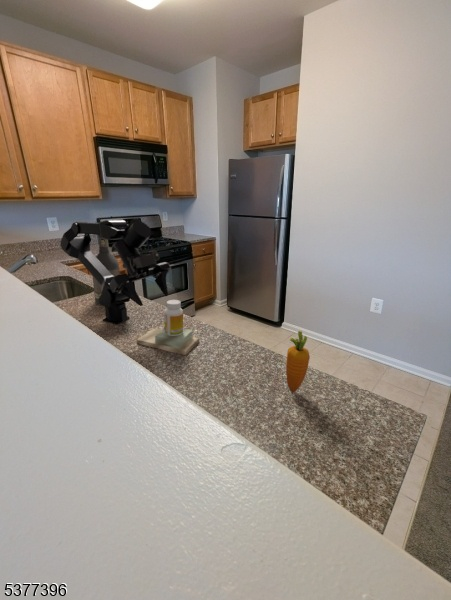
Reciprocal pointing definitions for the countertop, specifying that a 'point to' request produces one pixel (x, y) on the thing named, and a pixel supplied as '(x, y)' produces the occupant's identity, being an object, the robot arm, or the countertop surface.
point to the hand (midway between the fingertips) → (154, 300)
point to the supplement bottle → (173, 318)
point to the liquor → (107, 261)
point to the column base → (151, 342)
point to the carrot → (297, 362)
